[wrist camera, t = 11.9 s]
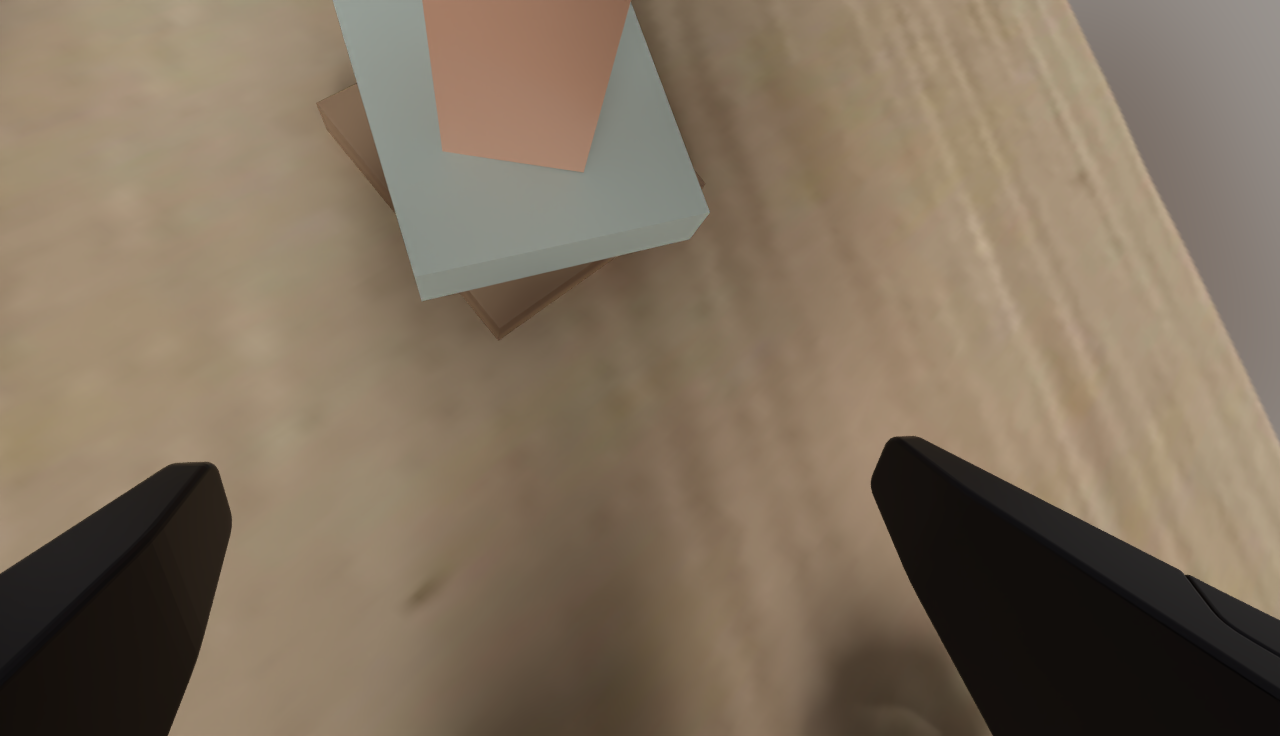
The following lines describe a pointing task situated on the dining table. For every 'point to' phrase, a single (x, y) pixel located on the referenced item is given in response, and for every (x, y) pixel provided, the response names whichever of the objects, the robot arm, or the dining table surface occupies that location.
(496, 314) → the slab lower
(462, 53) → the terracotta block
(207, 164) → the dining table surface
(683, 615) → the dining table surface
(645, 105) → the slab upper
